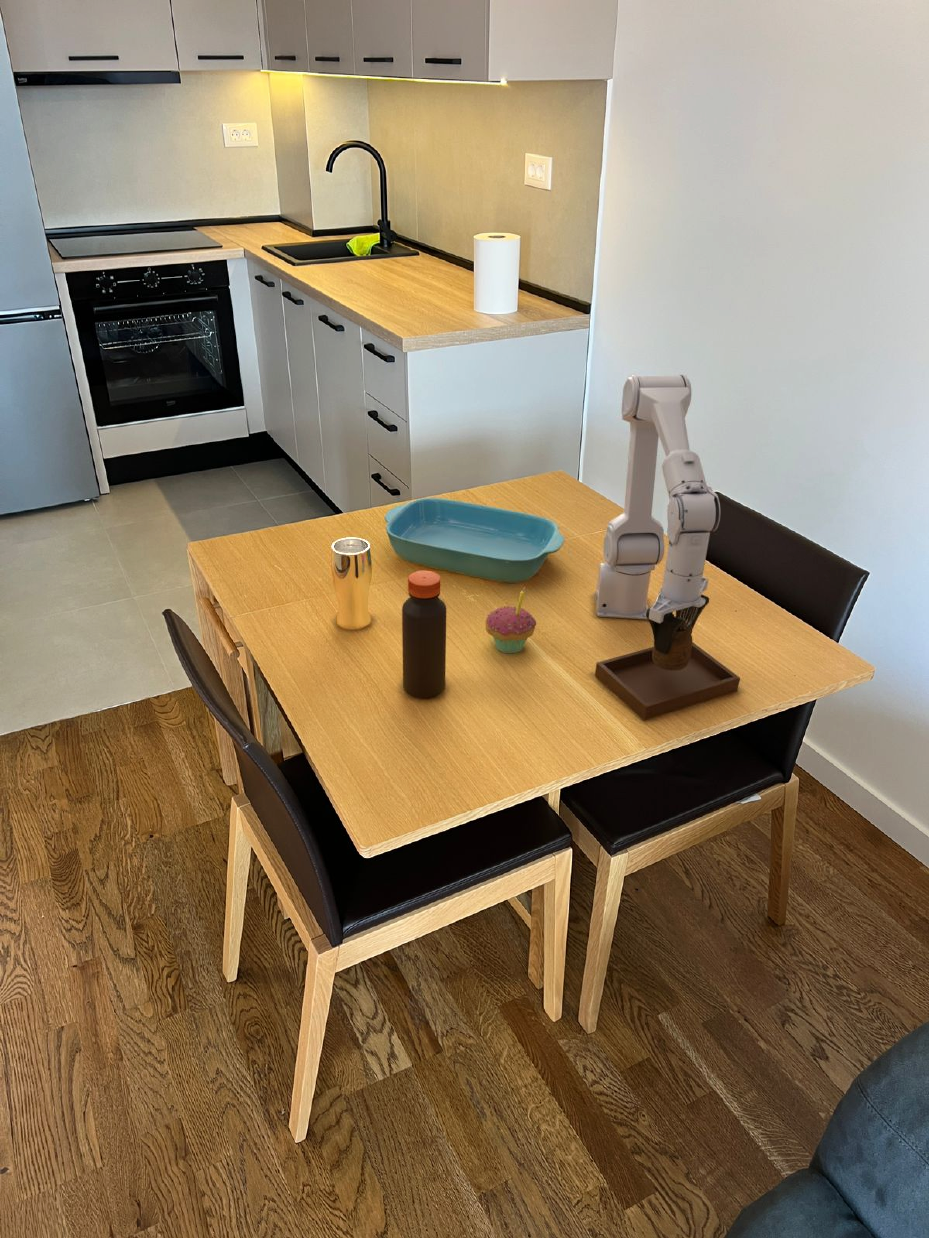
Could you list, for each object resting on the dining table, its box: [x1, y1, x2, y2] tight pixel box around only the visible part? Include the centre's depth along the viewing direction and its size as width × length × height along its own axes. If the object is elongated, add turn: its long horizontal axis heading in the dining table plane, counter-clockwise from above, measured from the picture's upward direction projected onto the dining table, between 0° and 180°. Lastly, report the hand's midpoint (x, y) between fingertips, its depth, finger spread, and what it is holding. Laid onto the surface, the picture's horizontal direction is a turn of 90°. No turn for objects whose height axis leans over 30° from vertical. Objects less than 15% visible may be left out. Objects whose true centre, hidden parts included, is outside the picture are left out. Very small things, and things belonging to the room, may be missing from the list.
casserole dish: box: [384, 497, 565, 584], centre depth 189 cm, size 37×22×7 cm, turn 70°
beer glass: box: [330, 537, 373, 631], centre depth 164 cm, size 7×7×15 cm
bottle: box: [401, 570, 447, 700], centre depth 146 cm, size 7×7×20 cm
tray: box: [594, 641, 741, 721], centre depth 153 cm, size 19×14×3 cm
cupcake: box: [485, 587, 537, 654], centre depth 159 cm, size 9×8×12 cm
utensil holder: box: [652, 606, 697, 670], centre depth 148 cm, size 6×6×12 cm
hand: (672, 643), depth 150 cm, fingers closed on utensil holder, 6 cm apart
